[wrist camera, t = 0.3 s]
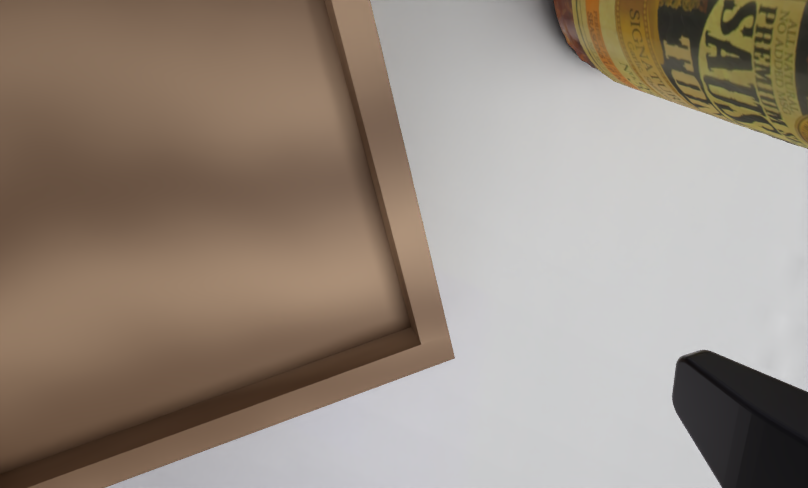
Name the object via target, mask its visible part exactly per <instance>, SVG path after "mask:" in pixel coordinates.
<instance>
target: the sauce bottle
mask: <svg viewBox="0 0 808 488" xmlns="http://www.w3.org/2000/svg"><path fill="white" fill-rule="evenodd" d="M553 1H554V6H555V11H556V16H557V19H558V21H559V24H560V28H561V30H562V32H563V34H564V36H565V38H566V41H567V43H568V45H569V46H570V47H571V48H573V49H574V50H575V52H576V53H577V55H578V57H579V58H580V59H581V60H582V61H584V62H586V63H588V64H589V65H590V66H591V67H594V68H596V69H598V70H600V71H601V72H602V73H603V74H605V75H606V76H607V77H609V78H610V79H612V80H613V81H615V82H617V83H620V84H623V85H625V86H628V87H631V88H634V89H637V90H640V91H643V92H645V93H648V94H651V95H654V96H657V97H660V98H663V99H666V100H668V101H671V102H674V103H677V104H680V105H683V106H686V107H689V108H691V109H694V110H697V111H701V112H703V113H706V114H709V115H712V116H715V117H717V118H720V119H723V120H725V121H728V122H731V123H734V124H737V125H740V126H743V127H747V128H749V129H751V130H754V131H757V132H760V133H764V134H767V135H769V136H771V137H774V138H777V139H780V140H783V141H785V142H787V143H791V144H794V145H797V146H801V147H804V148H807V149H808V0H553Z"/></svg>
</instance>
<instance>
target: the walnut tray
mask: <svg viewBox="0 0 808 488" xmlns="http://www.w3.org/2000/svg"><path fill="white" fill-rule="evenodd" d="M454 358H455V357H454V353H453V348H452V344H451V340H450V336H449V332H448V327H447V323H446V319H445V315H444V310H443V306H442V302H441V298H440V294H439V289H438V285H437V281H436V277H435V273H434V268H433V264H432V260H431V256H430V251H429V247H428V243H427V239H426V235H425V230H424V226H423V222H422V218H421V213H420V209H419V205H418V201H417V197H416V192H415V188H414V184H413V180H412V176H411V171H410V167H409V163H408V159H407V154H406V150H405V146H404V142H403V138H402V133H401V129H400V125H399V121H398V116H397V112H396V108H395V104H394V100H393V95H392V91H391V87H390V83H389V79H388V74H387V70H386V66H385V62H384V57H383V53H382V49H381V45H380V41H379V36H378V32H377V28H376V24H375V19H374V15H373V11H372V7H371V3H370V0H0V488H105V487H108V486H110V485H113V484H116V483H118V482H121V481H124V480H127V479H129V478H132V477H135V476H137V475H140V474H143V473H146V472H148V471H151V470H154V469H156V468H159V467H162V466H164V465H167V464H170V463H173V462H175V461H178V460H181V459H183V458H186V457H189V456H192V455H194V454H197V453H200V452H202V451H205V450H208V449H210V448H213V447H216V446H219V445H221V444H224V443H227V442H229V441H232V440H235V439H238V438H240V437H243V436H246V435H248V434H251V433H254V432H256V431H259V430H262V429H265V428H267V427H270V426H273V425H275V424H278V423H281V422H284V421H286V420H289V419H292V418H294V417H297V416H300V415H302V414H305V413H308V412H311V411H313V410H316V409H319V408H321V407H324V406H327V405H330V404H332V403H335V402H338V401H340V400H343V399H346V398H348V397H351V396H354V395H357V394H359V393H362V392H365V391H367V390H370V389H373V388H376V387H378V386H381V385H384V384H386V383H389V382H392V381H394V380H397V379H400V378H403V377H405V376H408V375H411V374H413V373H416V372H419V371H422V370H424V369H427V368H430V367H432V366H435V365H438V364H440V363H443V362H446V361H449V360H451V359H454Z"/></svg>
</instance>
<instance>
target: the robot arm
mask: <svg viewBox="0 0 808 488" xmlns="http://www.w3.org/2000/svg"><path fill="white" fill-rule="evenodd" d="M672 400H673V405H674V408H675V411H676V413H677V415H678V416H679V418H680V420H681V421H682V423H683V424H684V426H685V428H686V429H687V431H688V433H689V434H690V436H691V438H692V439H693V441H694V442H695V444H696V446H697V447H698V449H699V451H700V452H701V454H702V456H703V457H704V459H705V460H706V462H707V464H708V465H709V467H710V469H711V470H712V472H713V474H714V475H715V477H716V479H717V480H718V482H719V483H720V485H721V487H722V488H808V392H807V391H804V390H802V389H799V388H797V387H795V386H792V385H790V384H788V383H785V382H783V381H780V380H778V379H776V378H773V377H771V376H769V375H766V374H764V373H761V372H759V371H757V370H754V369H752V368H750V367H747V366H745V365H742V364H740V363H738V362H735V361H733V360H731V359H728V358H726V357H723V356H721V355H719V354H716V353H714V352H711V351H708V350H699V351H696V352H693V353H690V354H687V355H683V356H681V357H680V358H679V359H678V361H677V363H676V370H675V378H674V385H673V393H672Z"/></svg>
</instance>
